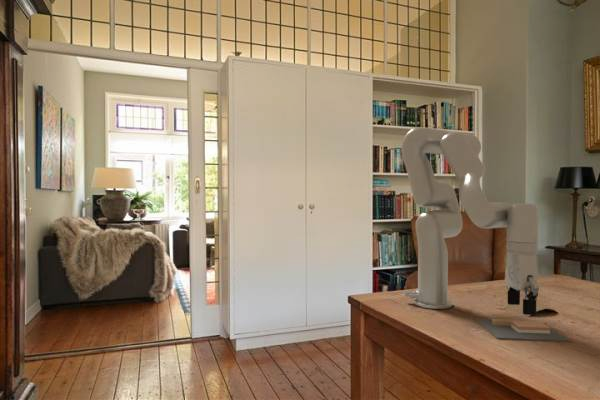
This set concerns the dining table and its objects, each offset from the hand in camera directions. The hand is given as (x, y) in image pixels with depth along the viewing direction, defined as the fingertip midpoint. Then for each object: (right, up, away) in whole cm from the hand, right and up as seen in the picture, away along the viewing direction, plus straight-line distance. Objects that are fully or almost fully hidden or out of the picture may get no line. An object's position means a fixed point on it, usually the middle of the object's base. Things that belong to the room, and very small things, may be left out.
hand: (521, 309), depth 114 cm
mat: (-1, -5, -1) cm, 6 cm away
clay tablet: (+13, -6, +17) cm, 22 cm away
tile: (+1, -4, 0) cm, 4 cm away
